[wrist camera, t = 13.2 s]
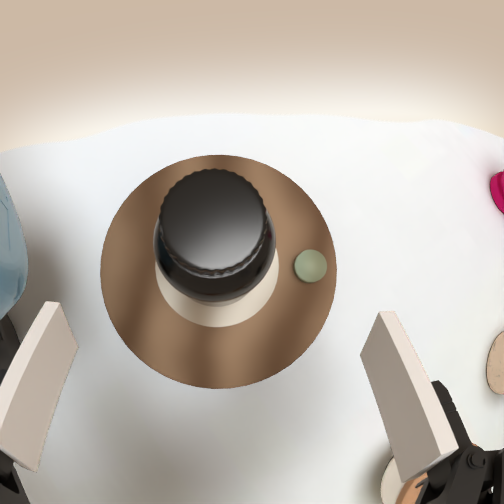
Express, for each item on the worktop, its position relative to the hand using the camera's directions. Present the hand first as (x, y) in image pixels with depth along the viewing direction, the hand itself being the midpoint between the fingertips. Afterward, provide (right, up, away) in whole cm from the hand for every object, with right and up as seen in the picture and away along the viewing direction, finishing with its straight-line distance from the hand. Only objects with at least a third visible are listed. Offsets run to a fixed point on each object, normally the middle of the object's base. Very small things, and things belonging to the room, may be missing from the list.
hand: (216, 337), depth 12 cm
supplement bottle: (-1, +2, +13) cm, 13 cm away
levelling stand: (-2, +2, +16) cm, 16 cm away
